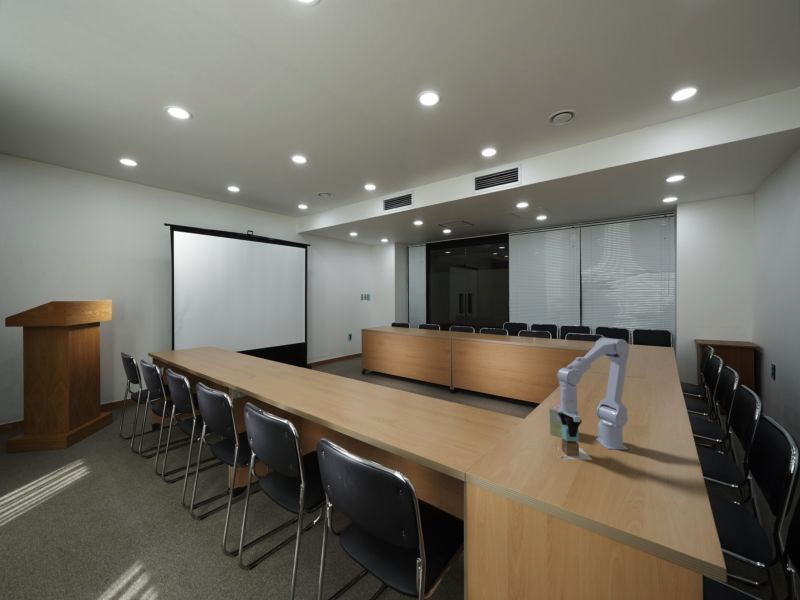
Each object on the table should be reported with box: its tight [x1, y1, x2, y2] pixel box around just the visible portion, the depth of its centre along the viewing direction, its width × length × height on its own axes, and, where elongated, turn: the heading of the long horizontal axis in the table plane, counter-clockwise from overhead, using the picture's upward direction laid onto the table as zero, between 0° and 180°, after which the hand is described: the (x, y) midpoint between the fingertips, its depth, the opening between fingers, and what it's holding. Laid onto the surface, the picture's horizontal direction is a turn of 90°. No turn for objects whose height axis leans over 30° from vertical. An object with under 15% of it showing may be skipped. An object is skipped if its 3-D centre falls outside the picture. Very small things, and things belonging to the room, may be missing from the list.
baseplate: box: [552, 446, 593, 461], centre depth 127 cm, size 10×12×1 cm
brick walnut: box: [561, 438, 580, 456], centre depth 127 cm, size 5×5×5 cm
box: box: [548, 403, 564, 439], centre depth 146 cm, size 10×6×12 cm, turn 134°
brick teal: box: [561, 425, 580, 442], centre depth 127 cm, size 5×5×5 cm
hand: (569, 433), depth 127 cm, fingers closed on brick teal, 5 cm apart
